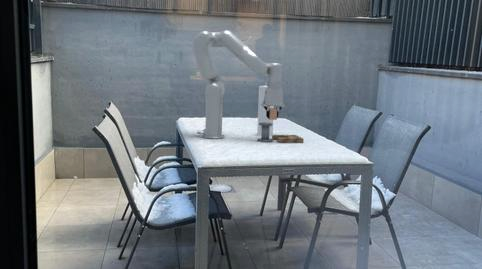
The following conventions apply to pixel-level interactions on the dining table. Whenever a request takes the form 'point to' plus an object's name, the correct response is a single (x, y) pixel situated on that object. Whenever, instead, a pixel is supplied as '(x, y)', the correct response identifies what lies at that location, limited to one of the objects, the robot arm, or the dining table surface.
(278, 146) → the dining table surface
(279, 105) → the robot arm
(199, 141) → the dining table surface
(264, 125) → the spool
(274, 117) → the tab
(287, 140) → the board
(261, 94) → the white tall cylinder
